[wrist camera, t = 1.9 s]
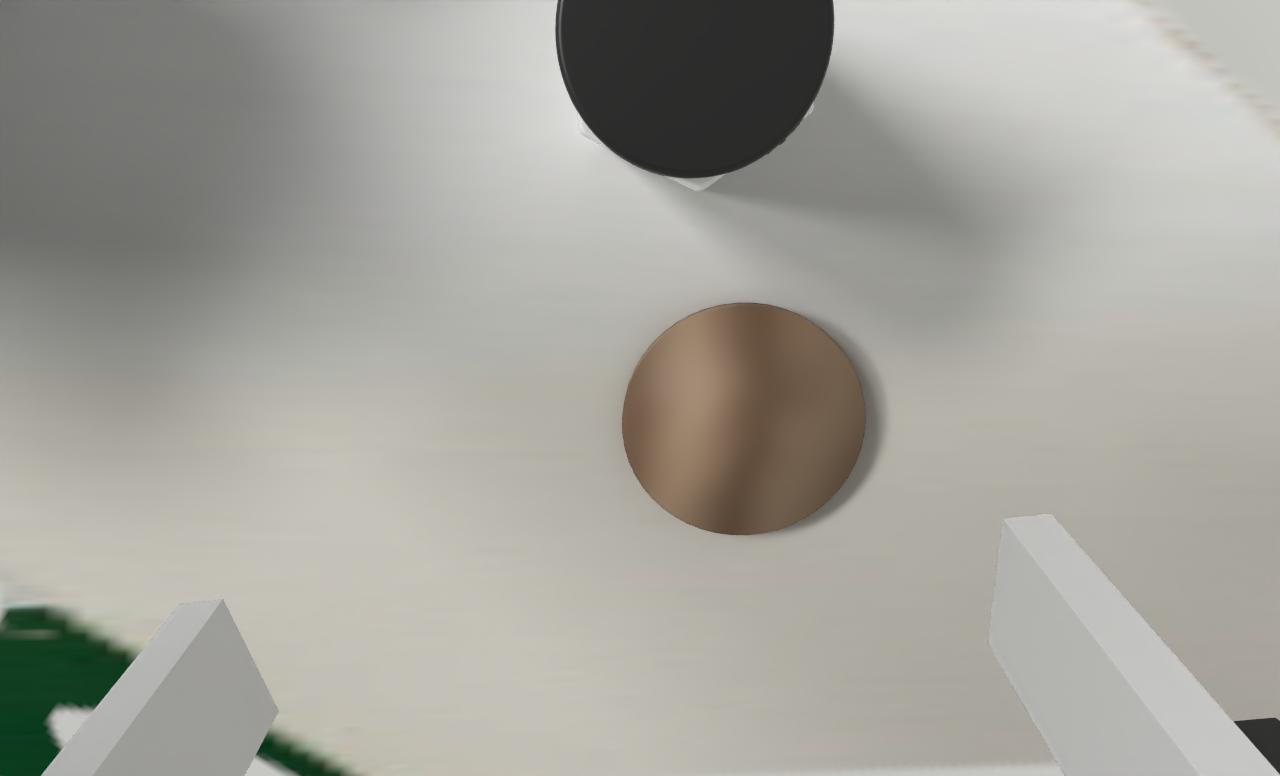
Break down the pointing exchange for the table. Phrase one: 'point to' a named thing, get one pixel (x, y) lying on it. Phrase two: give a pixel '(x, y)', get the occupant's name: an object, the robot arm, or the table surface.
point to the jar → (693, 78)
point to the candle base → (743, 419)
